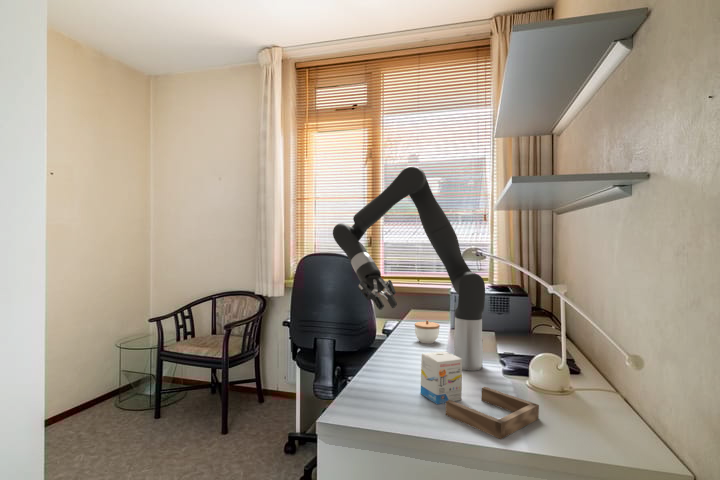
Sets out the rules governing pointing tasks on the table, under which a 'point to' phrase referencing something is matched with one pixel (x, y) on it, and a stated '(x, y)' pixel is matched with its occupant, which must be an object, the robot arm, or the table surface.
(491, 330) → the table surface
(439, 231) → the robot arm
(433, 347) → the table surface
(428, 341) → the lidded jar
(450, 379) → the ink box
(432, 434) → the table surface
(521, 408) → the walnut corral
